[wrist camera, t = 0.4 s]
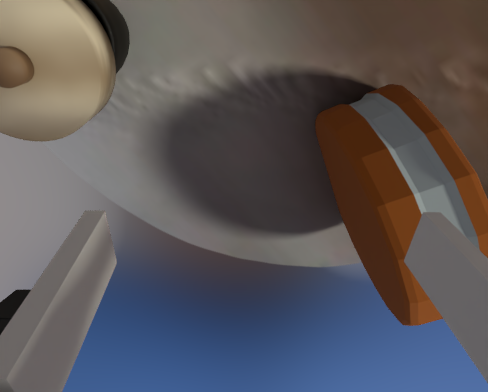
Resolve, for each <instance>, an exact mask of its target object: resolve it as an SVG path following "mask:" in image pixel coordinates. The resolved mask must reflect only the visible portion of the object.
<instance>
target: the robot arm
mask: <svg viewBox="0 0 488 392" xmlns="http://www.w3.org/2000/svg"><path fill="white" fill-rule="evenodd" d="M404 262H405V264H406V265H407V267H408V268H409V269H410V271H411V272H412V274H413V275H414V277H415V278H416V280H417V281H418V283H419V284H420V285H421V287H422V288H423V290H424V291H425V293H426V294H427V296H428V297H429V298H430V300H431V301H432V303H433V304H434V306H435V307H436V309H437V310H438V312H439V313H440V314H441V316H442V317H443V319H444V320H445V322H446V323H447V324H448V326H449V327H450V329H451V330H452V332H453V333H454V335H455V336H456V337H457V339H458V341H459V342H460V344H461V345H462V346H463V348H464V349H465V351H466V352H467V354H468V355H469V357H470V358H471V359H472V361H473V362H474V364H475V365H476V367H477V368H478V369H479V371H480V372H481V374H482V375H483V377H484V378H485V380H486V381H487V383H488V258H487V257H486V256H485V255H484V254H483V253H482V252H481V251H480V250H479V249H478V248H477V247H476V246H475V245H474V244H473V243H472V242H471V241H470V240H468V239H467V238H466V237H465V236H464V235H463V234H462V233H461V232H460V231H459V230H458V229H457V228H456V227H455V226H454V225H453V224H452V223H451V222H450V221H449V220H448V219H447V218H446V217H445V216H444V215H443V214H442V213H441V212H423V214H422V216H421V219H420V221H419V224H418V226H417V229H416V231H415V234H414V236H413V239H412V241H411V244H410V246H409V249H408V252H407V254H406V257H405V259H404ZM116 263H117V261H116V256H115V252H114V248H113V243H112V239H111V234H110V230H109V226H108V221H107V217H106V212H105V211H85V212H84V213H83V215H82V216H81V218H80V219H79V221H78V222H77V224H76V225H75V227H74V228H73V230H72V231H71V233H70V234H69V235H68V237H67V238H66V240H65V241H64V243H63V244H62V246H61V247H60V249H59V250H58V252H57V253H56V254H55V256H54V258H53V259H52V260H51V262H50V263H49V265H48V266H47V268H46V269H45V270H44V272H43V273H42V275H41V276H40V278H39V279H38V281H37V282H36V284H35V285H34V287H33V288H32V289H31V290H16V291H14V292H13V293H12V294H10V295H9V296H8V297H7V298H5V299H4V300H3V301H2V302H0V392H62V390H63V388H64V386H65V384H66V381H67V379H68V376H69V374H70V372H71V369H72V367H73V365H74V362H75V360H76V358H77V355H78V353H79V350H80V348H81V346H82V343H83V341H84V339H85V336H86V334H87V332H88V329H89V327H90V325H91V322H92V320H93V318H94V315H95V313H96V311H97V308H98V306H99V303H100V301H101V299H102V296H103V294H104V292H105V289H106V287H107V285H108V282H109V280H110V277H111V275H112V273H113V270H114V268H115V266H116Z"/></svg>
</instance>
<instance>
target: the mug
mask: <svg viewBox="0 0 488 392" xmlns="http://www.w3.org/2000/svg"><path fill="white" fill-rule="evenodd" d="M82 1H83V2H84V3H85V4H86V5H87V6H88V7H89V8H90V10H91V11H92V12H93V13H94V14H95V16H96V17H97V19H98V20H99V21H100V23H101V25H102V26H103V28H104V30H105V32H106V34H107V36H108V38H109V40H110V43H111V46H112V49H113V52H114V58H115V65H116V73H117V72H118V71H119V70H120V68H121V67H122V66H123V64H124V62H125V59H126V57H127V55H128V49H129V44H130V43H129V30H128V26H127V24H126V22H125V19H124V18H123V16H122V14H121V13H120V12H119V10H118V9H117V7H116V6H115V5H114V4H113V3H112V2H111V1H110V0H82Z"/></svg>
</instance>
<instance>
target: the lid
mask: <svg viewBox="0 0 488 392" xmlns="http://www.w3.org/2000/svg"><path fill="white" fill-rule="evenodd" d="M115 78H116V65H115V58H114V52H113V49H112V46H111V43H110V40H109V38H108V36H107V34H106V32H105V30H104V28H103V26H102V25H101V23H100V21H99V20H98V19H97V17H96V16H95V14H94V13H93V12H92V11H91V10H90V8H89V7H88V6H87V5H86V4H85V3H84V2H83V1H82V0H0V132H1V133H3V134H6V135H9V136H12V137H15V138H19V139H23V140H29V141H51V140H57V139H60V138H64V137H66V136H68V135H70V134H72V133H74V132H75V131H77V130H78V129H80V128H81V127H82V126H83V125H84V124H86V123H87V122H88V121H89V120H90V119H92V118H93V117H94V116H95V115H96V114H97V113H99V112H100V111H101V110H102V109H103V108H104V106H105V105H106V104H107V102H108V100H109V99H110V97H111V94H112V92H113V89H114V84H115Z"/></svg>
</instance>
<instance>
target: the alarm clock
mask: <svg viewBox="0 0 488 392" xmlns="http://www.w3.org/2000/svg"><path fill="white" fill-rule="evenodd" d="M315 127H316V135H317V138H318V142H319V145H320V148H321V152H322V155H323V158H324V162H325V165H326V168H327V172H328V175H329V178H330V182H331V185H332V188H333V192H334V195H335V198H336V202H337V205H338V208H339V211H340V214H341V216H342V219H343V221H344V224H345V226H346V229H347V231H348V233H349V235H350V238H351V240H352V242H353V245H354V247H355V249H356V251H357V253H358V255H359V257H360V259H361V261H362V263H363V265H364V267H365V269H366V271H367V273H368V275H369V276H370V278H371V280H372V282H373V284H374V286H375V287H376V289H377V291H378V292H379V294H380V296H381V297H382V299H383V301H384V302H385V304H386V305H387V307H388V308H389V310H391V312H392V313H393V314H394V316H395V317H396V318H397V319H398V320H399V321H400V322H401V323H402V324H403V325H409V326H413V325H421V324H425V323H428V322H432V321H436V320H439V319H443V317H442V316H441V314H440V313H439V312H438V310H437V309H436V307H435V306H434V304H433V303H432V301H431V300H430V298H429V297H428V296H427V294H426V293H425V291H424V290H423V288H422V287H421V285H420V284H419V283H418V281H417V280H416V278H415V277H414V275H413V274H412V272H411V271H410V269H409V268H408V267H407V265H406V264H405V262H404V259H405V257H406V254H407V252H408V249H409V246H410V244H411V241H412V239H413V236H414V234H415V231H416V229H417V226H418V224H419V221H420V219H421V216H422V214H423V212H441V213H442V214H443V215H444V216H445V217H446V218H447V219H448V220H449V221H450V222H451V223H452V224H453V225H454V226H455V227H456V228H457V229H458V230H459V231H460V232H461V233H462V234H463V235H464V236H465V237H466V238H467V239H468V240H470V241H471V242H472V243H473V244H474V245H475V246H476V247H477V248H478V249H479V250H480V251H481V252H482V253H483V254H484V255H485V256H486V257H487V258H488V200H487V197H486V195H485V192H484V190H483V188H482V185H481V183H480V180H479V178H478V176H477V173H476V172H475V170H474V169H473V167H472V166H471V165H470V163H469V162H468V160H467V159H466V157H465V156H464V154H463V153H462V151H461V150H460V149H459V147H458V146H457V144H456V143H455V141H454V140H453V138H452V137H451V135H450V134H449V133H448V131H447V130H446V129H445V128H444V126H443V125H442V124H441V123H440V122H439V121H438V120H437V118H436V117H435V116H434V115H433V114H432V113H431V112H430V111H429V109H428V108H427V107H426V106H425V105H424V104H423V103H422V102H421V101H420V100H419V99H418V98H417V97H415V96H414V95H413V94H412V93H411V92H409V91H408V90H407V89H406V88H404V87H403V86H401V85H394V84H390V85H386V86H384V87H381V88H379V89H376V90H374V91H371V92H369V93H366V94H365V95H364V97H363V98H362V99H361V100H359V101H357V102H354V103H352V104H349V105H346V104H339V105H337V106H334V107H332V108H329V109H327V110H324V111H322V112H321V113H319V114H318V116H317V118H316V122H315Z"/></svg>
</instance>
